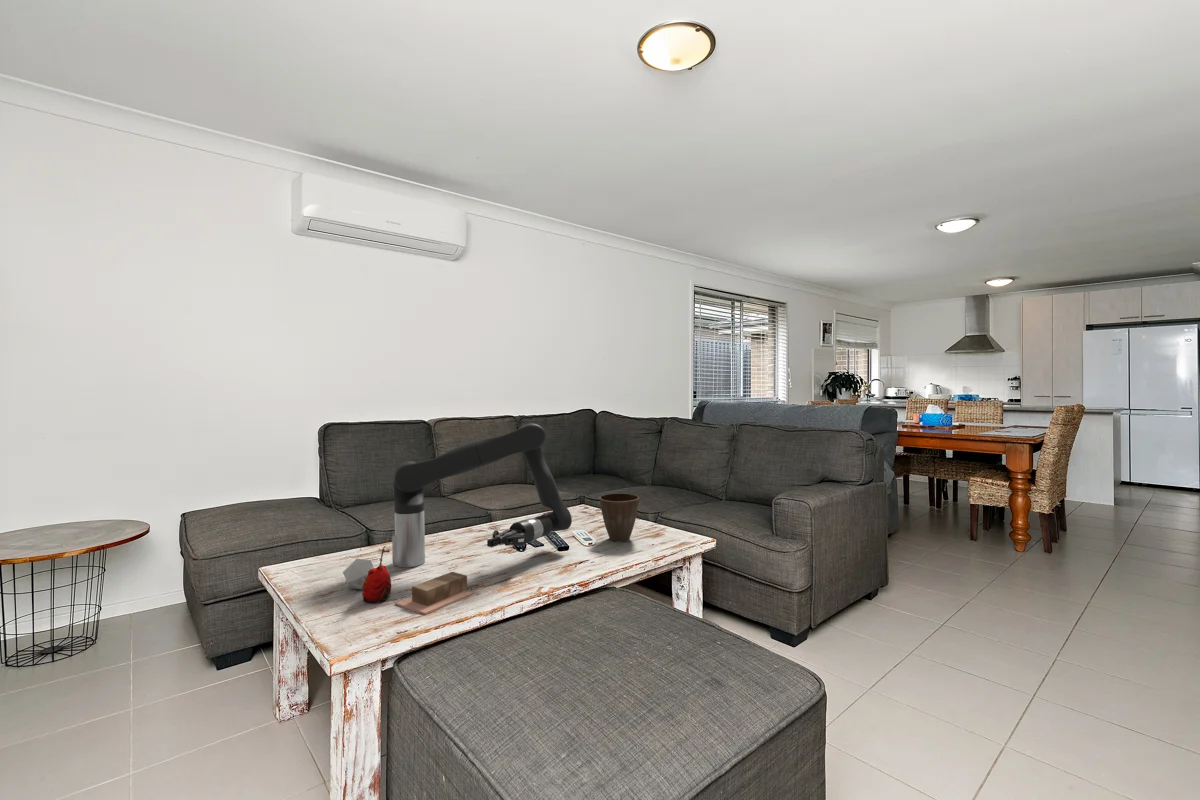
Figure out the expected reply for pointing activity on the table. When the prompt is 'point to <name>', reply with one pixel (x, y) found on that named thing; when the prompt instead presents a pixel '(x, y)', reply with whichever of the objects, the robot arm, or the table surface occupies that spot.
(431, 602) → the walnut block
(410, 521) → the robot arm
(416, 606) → the felt mat
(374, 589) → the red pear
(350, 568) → the die
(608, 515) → the plant pot
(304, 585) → the table surface
